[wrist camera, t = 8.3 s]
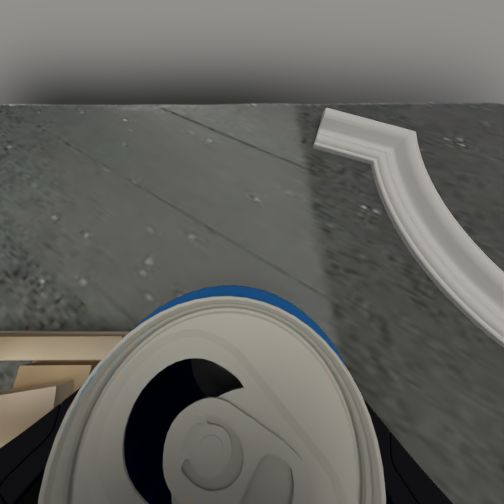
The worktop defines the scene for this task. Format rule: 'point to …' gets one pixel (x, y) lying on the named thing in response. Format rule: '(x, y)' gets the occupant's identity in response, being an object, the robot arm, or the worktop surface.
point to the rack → (57, 344)
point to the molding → (420, 215)
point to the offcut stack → (39, 392)
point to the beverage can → (218, 413)
